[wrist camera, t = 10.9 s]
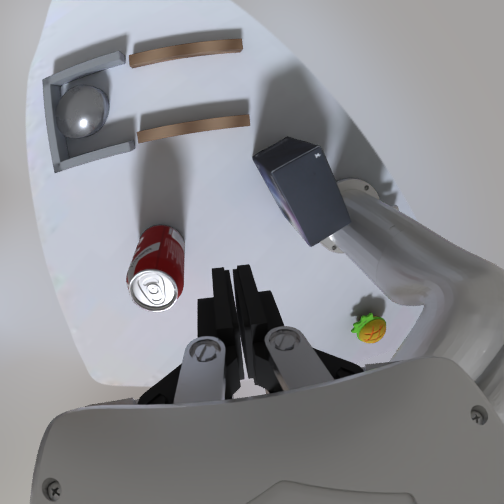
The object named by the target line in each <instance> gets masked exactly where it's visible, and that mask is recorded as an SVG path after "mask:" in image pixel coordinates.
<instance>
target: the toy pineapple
mask: <svg viewBox="0 0 504 504" xmlns="http://www.w3.org/2000/svg"><path fill="white" fill-rule="evenodd" d="M353 326H354V328H353V329H352V330H351V332H352V333H357V337H358V339H359V340H360V341H363V342H366V343H375V342H378V341H379V340H380V339H381V338H382V337H383V336H384V334H385V332H386V322H385V320H384V319H383V318H381V317H377V316H373V314H372V313H369V314H368V315H367V316H364V315H363V316H362V317H361V320H360V321H359V322H356V323H354V324H353Z"/></svg>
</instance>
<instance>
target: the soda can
mask: <svg viewBox="0 0 504 504" xmlns="http://www.w3.org/2000/svg"><path fill="white" fill-rule="evenodd" d="M184 256H185V244H184V240H183V238H182V236H181V235H180V233H179V232H178V231H177V230H175V229H174V228H172V227H170V226H166V225H156V226H152V227H150V228H148V229H147V230H146V231H145V232H144V233H143V234H142V236H141V238H140V240H139V243H138V245H137V248H136V251H135V253H134V256H133V259H132V261H131V264H130V267H129V270H128V273H127V278H126V282H127V287H128V289H129V293H130V296H131V298H132V300H133V301H134V303H135V304H136V305H138V306H139V307H140V308H142V309H144V310H147V311H151V312H160V311H164V310H167V309H168V308H170V307H171V306H172V305H173V304H174V303H175V302H176V300H177V299H178V298H179V296H180V295H181V293H182V291H183V287H184Z"/></svg>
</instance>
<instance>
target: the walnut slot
mask: <svg viewBox="0 0 504 504" xmlns="http://www.w3.org/2000/svg"><path fill="white" fill-rule="evenodd" d="M242 49H243V45H242V39H227V40H214V41H204V42H196V43H188V44H181V45H175V46H169V47H164V48H159V49H154V50H149V51H144V52H140V53H136V54H132V55H129V65H130V66H131V67H132V68H136V67H140V66H145V65H149V64H154V63H159V62H164V61H169V60H175V59H181V58H188V57H195V56H203V55H212V54H223V53H237V52H241V51H242ZM243 126H250V118H249V114H248V115H237V116H228V117H219V118H211V119H204V120H197V121H190V122H184V123H178V124H173V125H168V126H162V127H157V128H153V129H148V130H143V131H139V132H137V136H138V143H143V142H147V141H152V140H157V139H162V138H167V137H172V136H178V135H183V134H189V133H196V132H202V131H209V130H217V129H225V128H233V127H243Z"/></svg>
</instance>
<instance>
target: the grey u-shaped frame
mask: <svg viewBox="0 0 504 504" xmlns="http://www.w3.org/2000/svg"><path fill="white" fill-rule="evenodd" d="M122 64H125V56H124V55H123V54H122V53H121V52H120V51H117V52H114V53H110V54H107V55H104V56H101V57H98V58H95V59H92V60H89V61H86V62H83V63H81V64H78V65H75V66H73V67H70V68H68V69H65V70H63V71H61V72H58V73H56V74H54V75H51V76H49V77H47V78H45V79H43V96H44V108H45V117H46V125H47V133H48V139H49V146H50V151H51V157H52V162H53V167H54V172H55V173H57V172H60V171H63V170H66V169H69V168H72V167H75V166H79V165H82V164H85V163H88V162H92V161H95V160H99V159H102V158H106V157H110V156H114V155H118V154H122V153H126V152H130V151H132V150H134V149H135V145H134V140H133V141H129V142H125V143H121V144H117V145H113V146H109V147H105V148H102V149H98V150H95V151H92V152H88V153H85V154H82V155H79V156H76V157H72V158H69V155H68V150H67V144H66V138H65V135H63V134H62V133H61V132H60V130H59V129H58V127H57V124H56V119H55V114H56V108H57V105H58V103H59V101H60V99H61V97H60V86H61V85H63V84H65V83H68V82H71V81H73V80H76V79H78V78H81V77H84V76H87V75H89V74H92V73H95V72H98V71H102V70H105V69H108V68H111V67H115V66H118V65H122Z"/></svg>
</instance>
